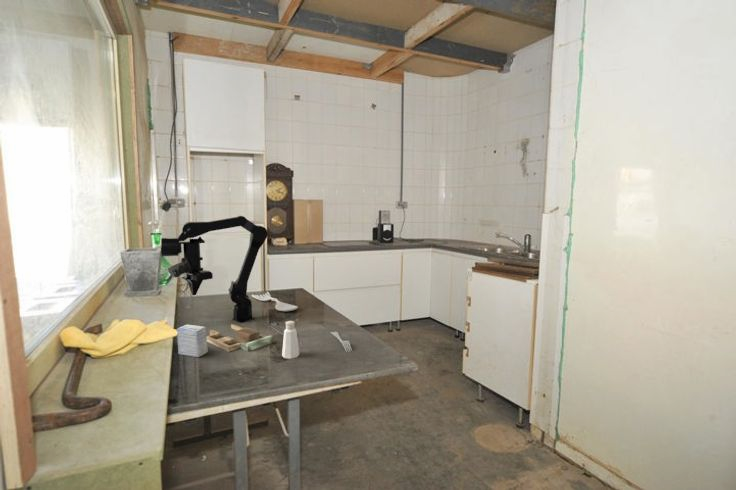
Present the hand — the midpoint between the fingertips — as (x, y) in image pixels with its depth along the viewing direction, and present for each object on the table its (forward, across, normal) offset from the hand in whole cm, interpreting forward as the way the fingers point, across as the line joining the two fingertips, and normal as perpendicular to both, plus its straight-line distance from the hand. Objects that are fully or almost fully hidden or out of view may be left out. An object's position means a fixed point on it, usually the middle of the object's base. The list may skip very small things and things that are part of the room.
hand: (194, 295), depth 149 cm
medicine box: (+12, +26, -14) cm, 32 cm away
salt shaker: (+12, +51, +5) cm, 53 cm away
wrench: (+13, +31, +17) cm, 37 cm away
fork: (+13, +55, +24) cm, 61 cm away
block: (+12, +31, +3) cm, 33 cm away
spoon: (+12, +1, +37) cm, 39 cm away
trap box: (+12, +26, +1) cm, 29 cm away
